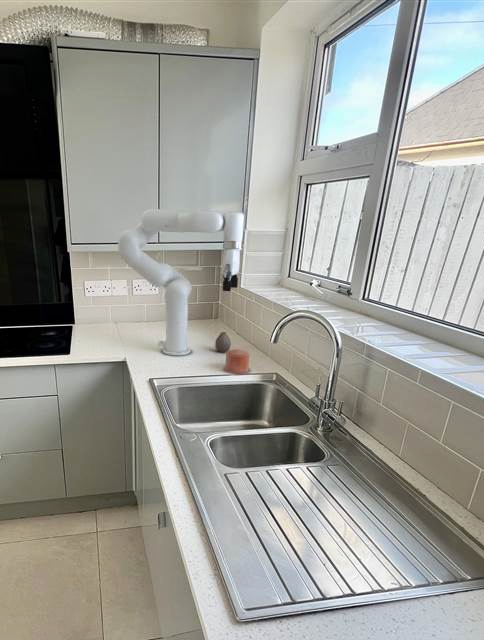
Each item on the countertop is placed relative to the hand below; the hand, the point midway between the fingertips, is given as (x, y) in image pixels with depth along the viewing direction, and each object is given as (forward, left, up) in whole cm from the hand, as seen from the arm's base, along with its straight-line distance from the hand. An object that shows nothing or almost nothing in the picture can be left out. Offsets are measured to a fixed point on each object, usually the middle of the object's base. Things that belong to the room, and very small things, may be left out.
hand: (230, 289), depth 168 cm
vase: (-3, +5, -29) cm, 30 cm away
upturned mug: (+9, -15, -29) cm, 34 cm away
